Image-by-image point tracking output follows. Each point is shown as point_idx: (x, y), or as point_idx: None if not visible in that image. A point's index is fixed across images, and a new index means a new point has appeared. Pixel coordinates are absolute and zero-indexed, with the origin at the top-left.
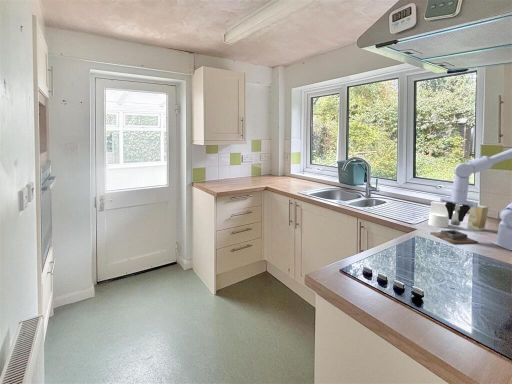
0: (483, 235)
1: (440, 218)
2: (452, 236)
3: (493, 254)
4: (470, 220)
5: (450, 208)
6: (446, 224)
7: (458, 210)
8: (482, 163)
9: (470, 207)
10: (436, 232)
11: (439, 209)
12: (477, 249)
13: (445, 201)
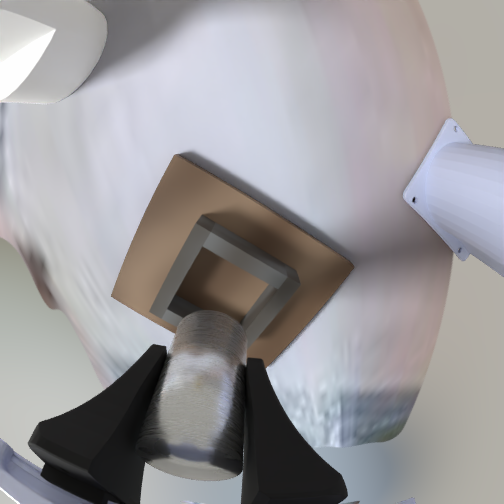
0: (333, 34)
1: (36, 81)
2: None
3: (401, 357)
4: None
5: (142, 476)
6: (92, 44)
7: (219, 478)
8: None
9: (341, 495)
10: (123, 271)
11: None
12: (354, 353)
13: (38, 479)
